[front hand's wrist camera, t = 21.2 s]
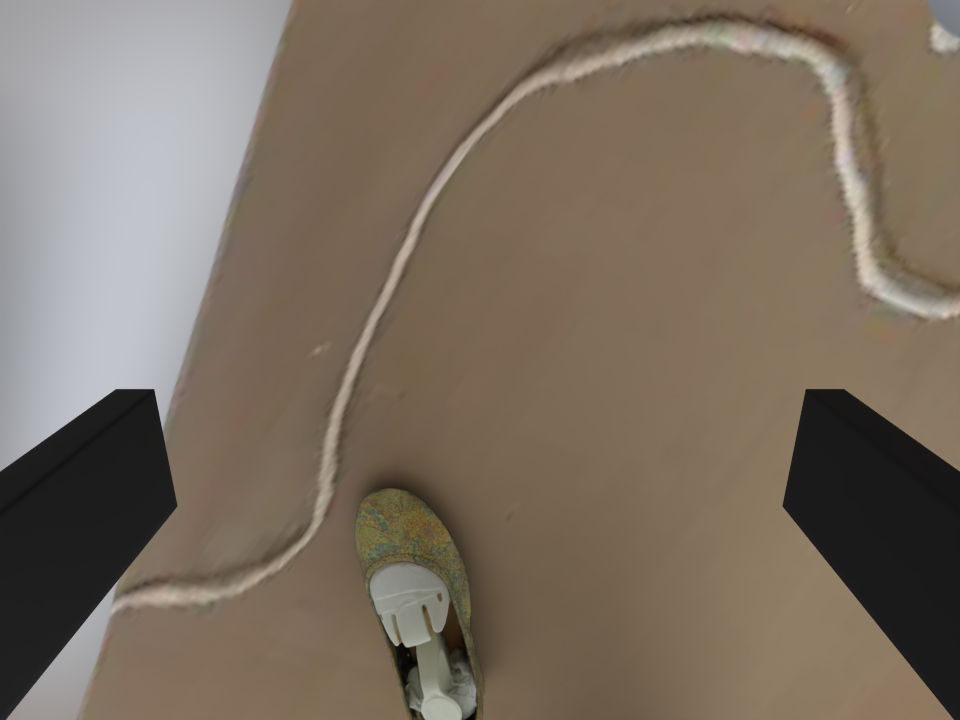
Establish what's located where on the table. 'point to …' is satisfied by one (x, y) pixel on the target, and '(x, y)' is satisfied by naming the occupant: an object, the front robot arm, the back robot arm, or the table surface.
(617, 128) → the table surface
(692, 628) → the table surface
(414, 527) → the ballet flat
